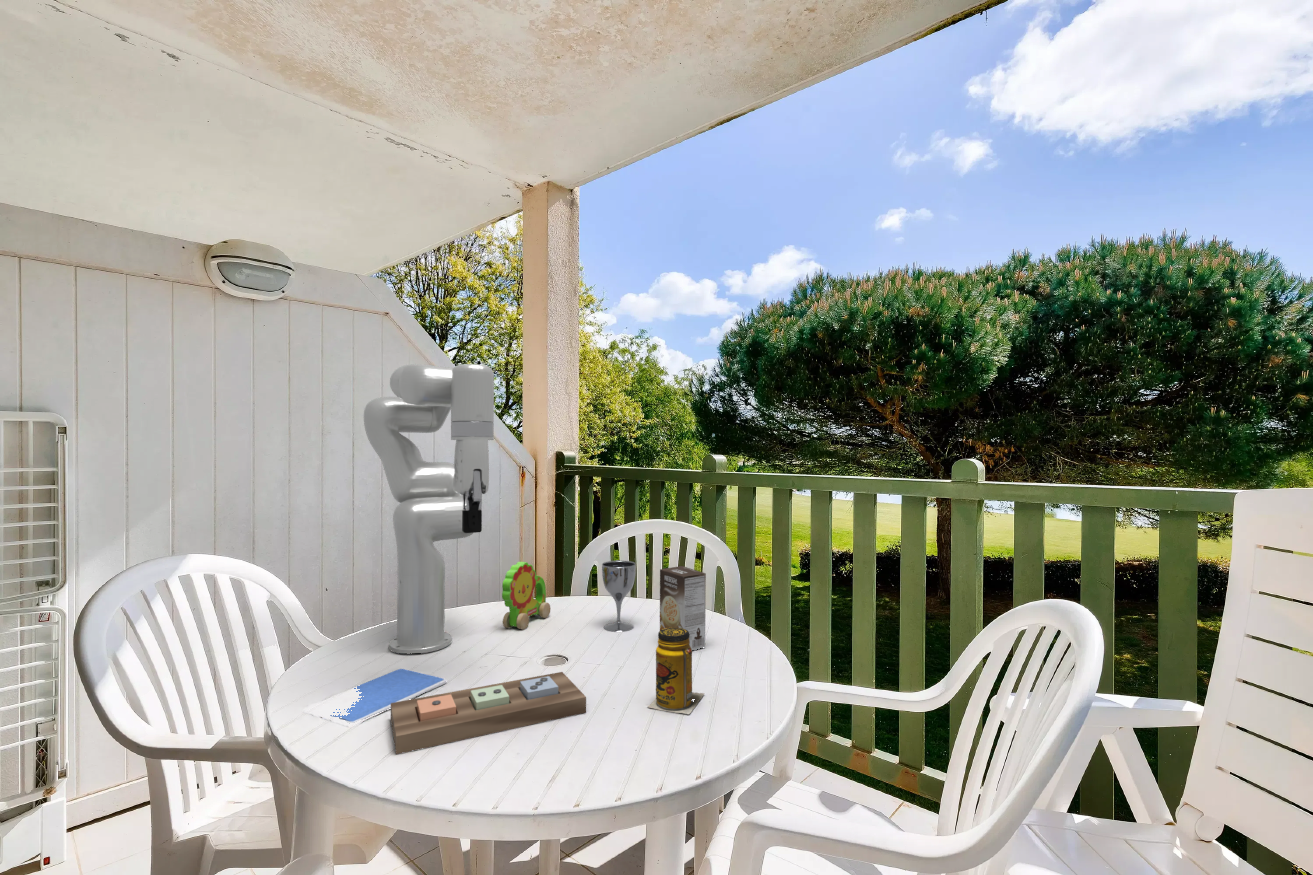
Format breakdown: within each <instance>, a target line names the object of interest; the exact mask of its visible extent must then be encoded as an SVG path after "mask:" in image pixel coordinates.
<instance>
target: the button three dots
mask: <svg viewBox="0 0 1313 875" xmlns="http://www.w3.org/2000/svg"><path fill="white" fill-rule="evenodd" d="M520 691H521V693H522V694H523V696H524V697H525V698H526V700H530V699H535V698H540V697H545V696H550V695H555V694H558V686H557V685H556V683H555V682H554V681H553V680H552V679H551V678H550V677H549V676H547V677H542V678H537V679H531V680H526V681H520Z"/></svg>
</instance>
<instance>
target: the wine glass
mask: <svg viewBox="0 0 1313 875" xmlns="http://www.w3.org/2000/svg"><path fill="white" fill-rule="evenodd" d="M636 565H637V564H636V562H634V561H629V560H609V561H604V562H603V563H602V564H601V577H602V582H603V585H604V586H603V587H604V588H605V590H606V591H607V592H608V594H609V595H610V596H611V597H612V599H613V600H614V602H615V606H616V622H611V623H607V624H605V625H603V629H604V630H605V631H607V632H614V633H615V632H616V633H617V632H618V633H621V632H622V633H623V632H628V631H630V630H633V629H634V628H635V626H634V625H633V624H632V623H628V622H622V621H621V612H622V605H623V601H624V599H625V598H626V596H627V595H629V593H630V592H631V591H632V589H633V587H634V584H635V580H636V569H637V568H636Z"/></svg>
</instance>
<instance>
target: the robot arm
mask: <svg viewBox="0 0 1313 875" xmlns="http://www.w3.org/2000/svg"><path fill="white" fill-rule="evenodd" d="M389 387H390V390H391V391H392V393H393V394H394V395H395V396H383V397H377V398H374V399H371V400H370V401H368V403H367V404H366V405H365V407H364V411H363V426H364V430H365V434H366V436H367V439H368V442H369V444H370V445H371V447H372V449H373V451H374V452H375V453H376V455H377V456H378V457H379V459H380V461H381V463H382V466H383V470H384V473H385V477H386V481H387V484H388V487H389V490H390V492H391V494H392V496H393V499H394V500H395V501H396V502H398V503H399V504H398V505H397V506H396V507H395V508H394V510H393V514H392V522H393V530H394V536H395V542H396V553H397V555H396V556H397V557H396V558H397V592H396V593H397V597H396V598H397V599H396V600H397V602H396V603H397V606H396V607H397V609H396V610H397V612H396V615H397V617H396V621H397V622H396V625H397V626H396V628H397V629H396V630H397V631H396V637H394V638H393V639H391V640H390V641H389V643H388V649H389V650H390V651H391V650H392V651H393V652H392V651H391V652H392V653H395V652H396V653H395V654H399V653H407V654H406V655H413V654H412V653H421V654H427V653H433V652H436V651H439V650H442V649H444V648H446V647H448V646H450V644H452V642H453V635H452V634H451V633H450V632H446V631H445V618H446V617H445V610H446V609H445V606H446V602H445V599H446V597H445V596H446V595H445V594H446V591H445V589H446V588H445V587H446V586H445V584H446V582H445V580H446V575H445V574H446V562H445V559H444V557H443V555H442V554H441V552H440V551H439V550H438V549H437V547H436V546H435V545H434V543H435V542H440V541H448V540H457V539H465V538H467V537H468V538H469V537H470V536H472V535H474V533H482V530H483V528H482V527H483V523H482V522H483V521H482V520H483V511H482V504H483V495H485V494H486V493H488V491H489V485H490V482H489V481H490V467H489V466H490V457H489V454H490V453H489V441H494V438H495V437H494V419H495V418H494V416H495V413H494V412H495V411H494V410H495V405H494V404H495V398H494V397H495V396H494V395H495V393H494V392H495V374H494V371H493V369H492V368H491V367H490V366H488V365H483V364H476V363H475V364H474V363H465V364H459V365H455V366H454V367H449V366H448V367H447V366H436V365H433V364H405V365H401V366H399V367H397V368H396V369H394V371H393V372H392V374H391V376H390V378H389ZM449 414H450V440H451V441H455V447H454V457H453V458H454V459H453V460H454V461H453V463H452V462H446V461H440V462H439V461H425V460H424V459H423V457H422V455H421V451H420V449H419V448H418V446H417V445H416V444H415V443H414V442H413V441H411V439H409V438H408V437H406V436H404V435H403V434H402V433H407V434H408V433H414V434H415V433H416V434H417V433H419V434H420V433H422V434H429V433H431V434H432V433H436V432H438V431H439V430H441V428H442V427H443V425H444V423H445V422H446V420H447V418H448V416H449ZM410 653H411V654H410Z"/></svg>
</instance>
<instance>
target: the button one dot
mask: <svg viewBox="0 0 1313 875" xmlns="http://www.w3.org/2000/svg"><path fill="white" fill-rule="evenodd" d="M455 714H456V705H455V703H454V700H453V698H452V695H451V694H450V695H444V696H439V697H434V698H428V699H423V700H417V718H418V722H420V721H425V720H430V719H435V718H440V717H445V716H450V715H455Z"/></svg>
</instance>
